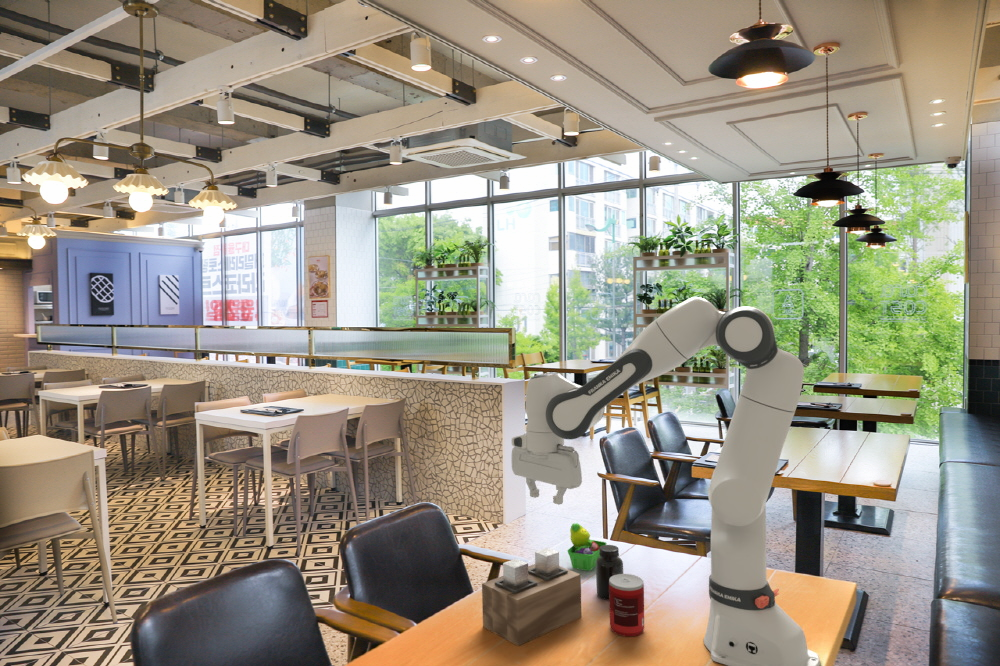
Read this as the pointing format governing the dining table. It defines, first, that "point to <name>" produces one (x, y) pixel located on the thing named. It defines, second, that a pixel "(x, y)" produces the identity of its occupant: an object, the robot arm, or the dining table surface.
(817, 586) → the dining table surface
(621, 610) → the canned food
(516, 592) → the socket block
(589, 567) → the fruit basket
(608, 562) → the supplement bottle
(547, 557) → the peg
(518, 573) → the peg
